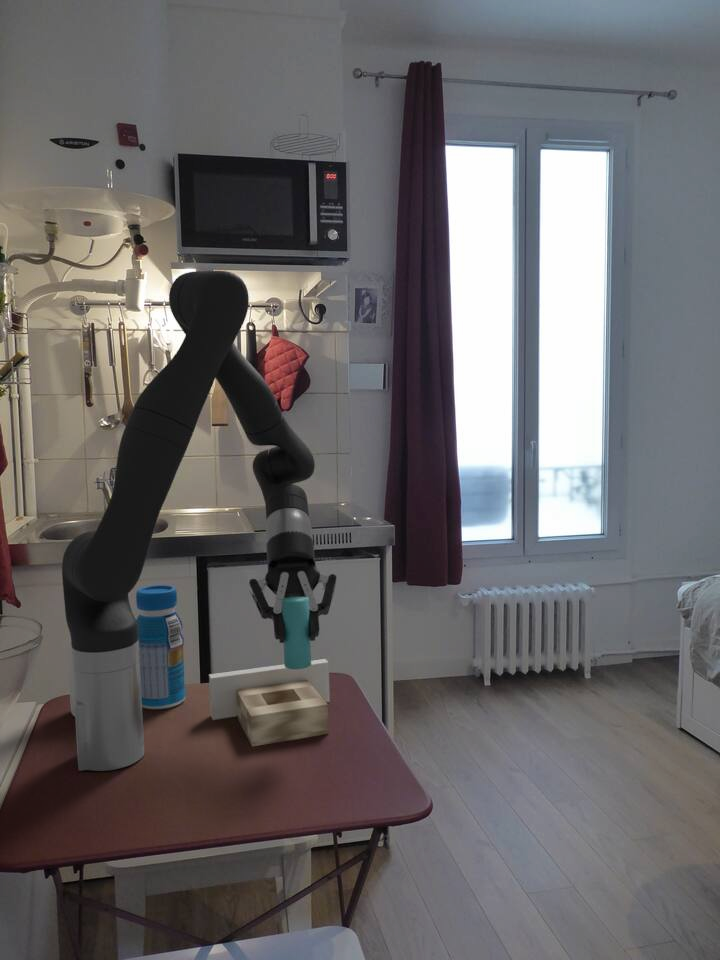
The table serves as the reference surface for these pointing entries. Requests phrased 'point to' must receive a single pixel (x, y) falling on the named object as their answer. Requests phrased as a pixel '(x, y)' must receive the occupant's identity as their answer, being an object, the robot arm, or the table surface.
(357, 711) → the table surface
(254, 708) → the socket block
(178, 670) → the beverage bottle
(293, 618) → the teal rounded cylinder
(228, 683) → the backstop wall
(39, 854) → the table surface
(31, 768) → the table surface
